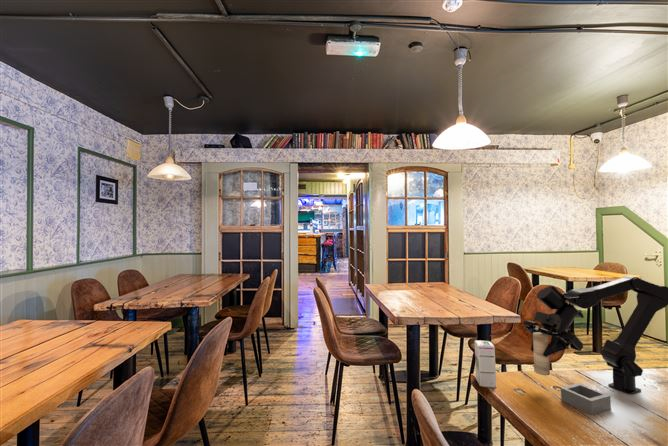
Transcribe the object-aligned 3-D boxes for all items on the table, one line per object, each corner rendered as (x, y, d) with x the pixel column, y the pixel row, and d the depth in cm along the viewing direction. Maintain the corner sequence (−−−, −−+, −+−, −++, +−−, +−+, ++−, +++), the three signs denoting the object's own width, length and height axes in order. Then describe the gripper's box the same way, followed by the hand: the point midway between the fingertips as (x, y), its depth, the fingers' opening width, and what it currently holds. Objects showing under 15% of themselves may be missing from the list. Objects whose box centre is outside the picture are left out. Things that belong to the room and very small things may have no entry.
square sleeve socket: (579, 395, 104) (579, 383, 104) (610, 409, 96) (610, 395, 96) (561, 400, 101) (560, 387, 101) (591, 414, 92) (591, 401, 93)
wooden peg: (540, 368, 110) (539, 331, 111) (552, 374, 106) (551, 335, 107) (531, 370, 109) (529, 333, 109) (543, 376, 105) (542, 336, 105)
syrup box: (497, 387, 109) (495, 346, 110) (478, 386, 110) (477, 344, 111) (492, 380, 115) (491, 340, 116) (475, 379, 116) (474, 339, 117)
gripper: (526, 298, 118) (502, 330, 115) (574, 309, 100) (548, 347, 97) (543, 317, 120) (521, 349, 117) (594, 332, 102) (569, 370, 99)
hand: (537, 353), depth 107 cm, fingers closed on wooden peg, 4 cm apart
